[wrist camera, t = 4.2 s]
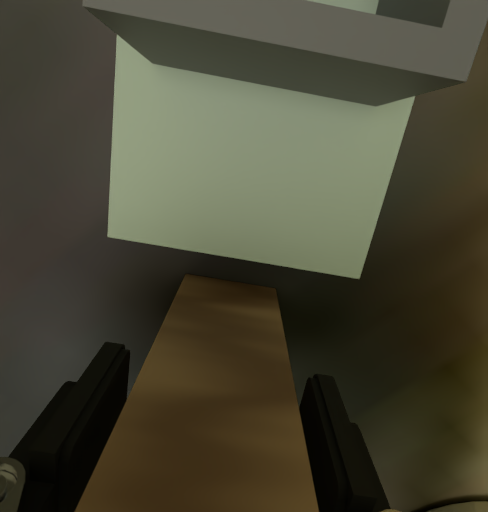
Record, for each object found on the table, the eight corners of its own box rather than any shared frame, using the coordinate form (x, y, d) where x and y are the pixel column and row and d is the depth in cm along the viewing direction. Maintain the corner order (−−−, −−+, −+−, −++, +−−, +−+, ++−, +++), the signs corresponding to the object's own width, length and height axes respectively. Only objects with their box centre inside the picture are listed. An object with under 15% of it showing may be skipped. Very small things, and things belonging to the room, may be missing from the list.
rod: (275, 288, 15) (491, 1405, 2) (258, 363, 16) (309, 1344, 3) (185, 273, 15) (-337, 1393, 2) (175, 351, 16) (-162, 1338, 3)
